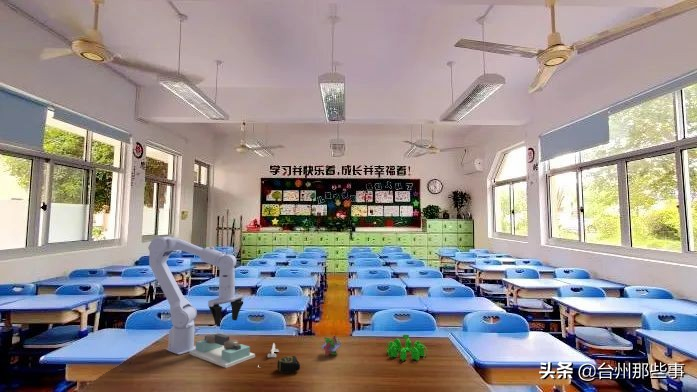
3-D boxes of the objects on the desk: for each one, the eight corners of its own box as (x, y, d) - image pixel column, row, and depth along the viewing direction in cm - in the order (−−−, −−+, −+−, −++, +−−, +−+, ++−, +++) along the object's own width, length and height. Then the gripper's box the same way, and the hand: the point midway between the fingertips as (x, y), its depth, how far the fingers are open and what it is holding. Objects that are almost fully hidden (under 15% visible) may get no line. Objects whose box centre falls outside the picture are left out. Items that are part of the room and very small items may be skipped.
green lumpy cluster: (436, 358, 125) (435, 338, 126) (400, 366, 119) (400, 345, 119) (410, 345, 139) (410, 327, 139) (377, 352, 132) (377, 332, 133)
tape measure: (300, 373, 113) (300, 361, 113) (278, 376, 111) (278, 364, 111) (296, 365, 120) (296, 354, 120) (276, 368, 117) (276, 356, 118)
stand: (189, 354, 131) (190, 342, 131) (218, 345, 140) (218, 334, 141) (226, 367, 118) (226, 355, 118) (255, 356, 127) (255, 345, 128)
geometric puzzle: (328, 355, 123) (337, 333, 127) (314, 351, 127) (323, 329, 131) (338, 363, 127) (346, 341, 131) (324, 358, 131) (332, 337, 135)
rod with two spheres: (200, 340, 133) (200, 332, 134) (211, 337, 137) (212, 329, 137) (233, 351, 122) (233, 342, 122) (244, 347, 125) (245, 338, 126)
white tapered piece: (266, 352, 133) (266, 340, 133) (283, 352, 133) (284, 340, 133) (255, 369, 118) (255, 355, 118) (275, 369, 118) (275, 355, 118)
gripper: (216, 290, 130) (215, 328, 128) (248, 284, 141) (248, 319, 140) (205, 288, 134) (204, 325, 133) (237, 282, 145) (237, 317, 144)
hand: (226, 322), depth 137 cm, fingers open, 7 cm apart
